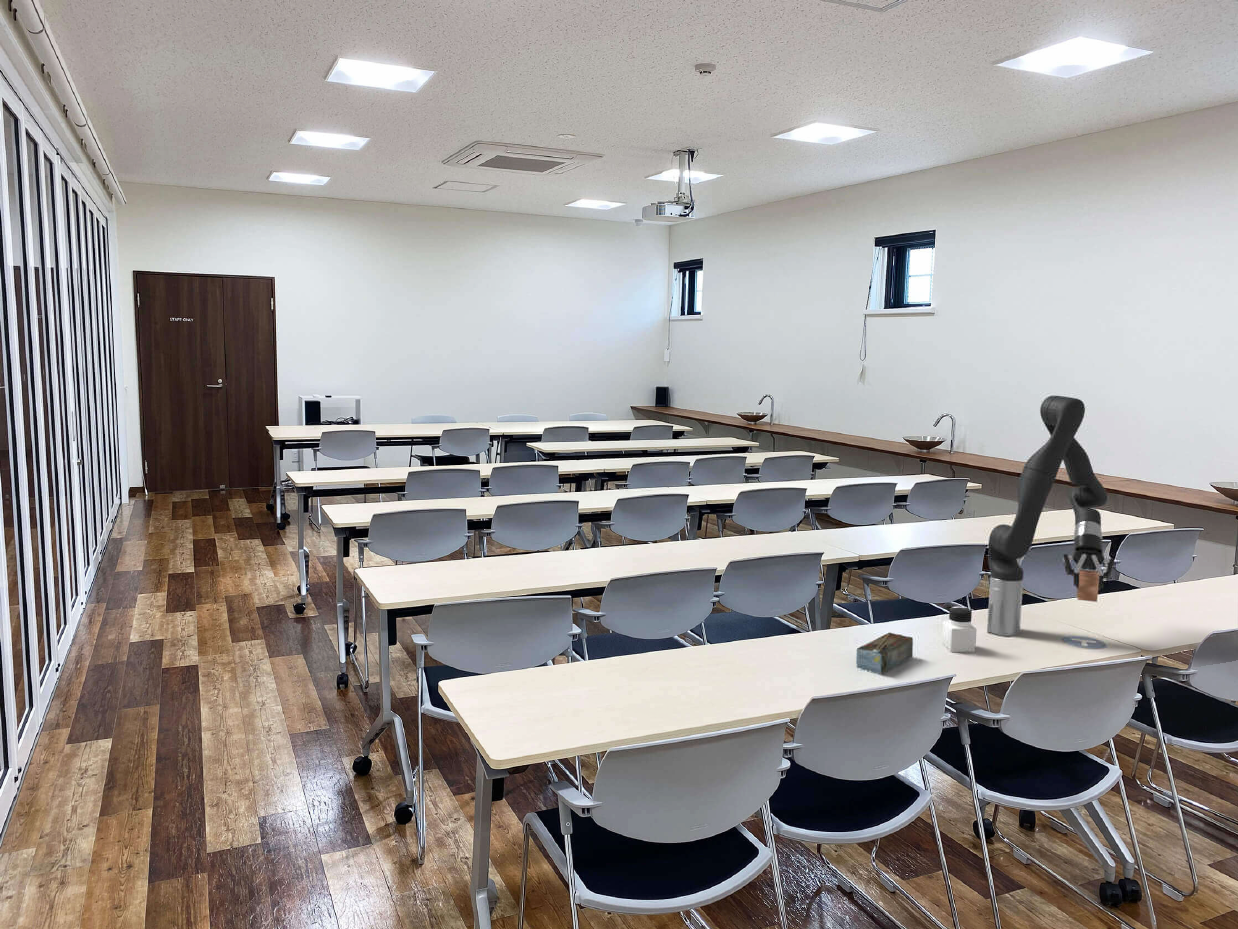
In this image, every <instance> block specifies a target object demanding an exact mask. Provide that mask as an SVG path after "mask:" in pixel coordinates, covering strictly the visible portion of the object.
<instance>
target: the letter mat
mask: <svg viewBox="0 0 1238 929" xmlns="http://www.w3.org/2000/svg"><path fill="white" fill-rule="evenodd" d="M1060 640H1061V641H1062V643H1065V644H1067V645H1068V646H1072V647H1075V648H1080V649H1081V648H1082V649H1087V650H1102V649H1105V648H1107V647H1108V645H1107V643H1106V642H1104V641H1102V640H1100V639H1096V638H1094V637H1093V638H1092V637H1089V636H1084V635H1083V636H1082V635H1068V636H1067V635H1065V636H1062V637H1061V639H1060Z"/></svg>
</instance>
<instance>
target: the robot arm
mask: <svg viewBox="0 0 1238 929" xmlns="http://www.w3.org/2000/svg"><path fill="white" fill-rule="evenodd" d="M1085 407H1086V406H1085V404H1084V402H1083V401H1082V399H1079V398H1076V397H1070V396H1062V395H1050V396H1048V397H1045V399H1044V400H1043V401H1042V403H1041V405H1040V407H1039V408H1040V409H1039V411H1040V412H1039V413H1040V417H1041V420H1042V422H1043V424H1044V425H1045V428H1046V429H1047V431H1048V432H1049V435H1050V437H1049V439H1048V440H1047V441H1046V442H1045V444H1044V445H1042V446H1041V447H1040V448H1038V450H1037V451H1035V453H1033V454H1032V455H1031V456H1030V457H1029V458H1028V459H1027V461H1026V462H1025V463H1024V467H1023V468H1022V471H1021V474H1020V476H1019V478H1018V481H1017V482H1018V483H1017V503H1018V504H1017V507H1018V508H1017V512H1016V514H1015V517H1014V520H1013V522H1012V524H1011V525H1009V524H999V525H996V526H995V527H994V528H993V529H992V530H991V532H990V535H989V539H988V549H987V550H988V557H987V558H988V560H987V561H988V568H989V570H990V577H989V579H990V580H989V594H988V608H987V610H988V612H987V625H986V626H987V627H986V630H987V631H986V633H988V632H991V633H990V634H993V633H994V635H996V634H997V635H996V636H1000V637H1001V636H1002V637H1014V636H1018V635H1020V632H1021V620H1022V619H1021V618H1022V606H1023V605H1022V602H1023V588H1024V587H1023V586H1024V570H1023V569H1022V567H1021V566H1020V565H1019V563H1018V560H1019V559H1022V558H1024V557H1025V556H1026V555H1027V554H1028V553H1029V551H1030V549H1031V547H1032V544H1033V541H1034V538H1035V534H1036V531H1037V527H1038V524H1039V520H1040V517H1041V515H1042V512H1043V510H1044V507H1045V504H1046V501H1047V499H1048V497H1049V494H1050V492H1051V490H1052V488H1053V485H1054V482H1055V480H1056V478H1057V475H1058V473H1059V470H1060V467H1061V465H1062V463H1063V464H1064V467H1065V470H1066V471H1065V472H1066V474H1067V476H1068V479H1069V481H1070V483H1071V484H1073V485H1076V486H1075V487H1072V488H1071V489H1070V491H1069V493H1068V499H1069V503H1070V506H1071V507H1072V511H1073V513H1074V522H1075V523H1074V532H1073V534H1074V535H1073V554H1071V555H1068V554H1067V553H1064V554H1063V556H1062V562H1063V565H1064V566H1063V567H1064V569H1065V572H1066V574H1067V576H1072V578H1073V584H1072V585H1073V586H1075V588H1076V589H1077V588H1079V571H1080V570H1089V571H1097V572H1098V573H1099V585H1098V591H1100V590H1101V589H1103V587H1104V579H1106V580H1108V579H1110V577H1111V574H1112V571H1113V566H1114V565H1115V564H1114V563H1115V559H1114V558H1106V557H1105V556H1104V554H1103V531H1102V516H1101V513H1100V511H1099V510H1097V509H1096V508H1099V507H1100V508H1101V507H1103V506H1105V505H1106V503H1107V502H1108V492H1107V491H1106V488H1105V487H1104V486H1103V484H1102V483H1101V481H1099V479H1098V477H1097V476H1096V474H1095V472H1094V470H1093V467H1092V463H1091V460H1090V458H1089V455H1088V453H1087V452H1086V451H1085V449H1084V448H1083V446H1082V445H1081V444H1080V443H1079V441H1078V440H1077V439H1076V438H1075V436H1076V434H1077V432H1078V431H1079V428H1080V427H1081V425H1082V422H1083V421H1084V420H1083V419H1084V417H1085V413H1086V408H1085ZM1072 560H1073V561H1074V562H1075V563H1076V567H1075V569H1073V568H1072V565H1071V562H1072ZM1103 563H1104V565H1105V567H1106V571H1104V572H1103V570H1102V566H1101V565H1103Z"/></svg>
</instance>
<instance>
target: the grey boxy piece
mask: <svg viewBox="0 0 1238 929" xmlns="http://www.w3.org/2000/svg"><path fill="white" fill-rule="evenodd" d="M913 650H914V640H913V637H912V636H906V635H903V634H898V633H897V634H896V633H893V632H888V633H885V634H883V635H882V636H879V637H877V638H875V639H874V640H872V641H870V642H868V643H866V644H864V645H862V646H859V647H857V648H856V657H855V658H856V661H855V662H856V663H855V664H856V669H857V668H861V669H864V670H863V671H865V670H867V671H866V672H869V671H871V672H870V673H872V672H873V674H876V673H877V674H876V675H881V676H882V675H883V674H885V673H887V672H889V671H891V670H893V669H895V668H896V667H898V666H899V665H902V664H903V663H906V661H908V660H911V659H913V657H914V656H913V653H914V652H913ZM861 669H860V670H861Z"/></svg>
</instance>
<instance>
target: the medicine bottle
mask: <svg viewBox="0 0 1238 929" xmlns="http://www.w3.org/2000/svg"><path fill="white" fill-rule="evenodd" d="M972 613H973V612H972V611H971V609H969V608H967V607H964V606H953V607H951V608H950V609H949V613H948V621H947V620H946V621H945V620H944V621H943V624H942V626H943V627H942V642H941V643H942V645H943V646H944V647H945V648H946V649H947V650H948V651H949V652H951V653H975V652H976V645H977V644H976V643H977V628H976V627H975V626H973V625H972V615H973V614H972Z"/></svg>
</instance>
